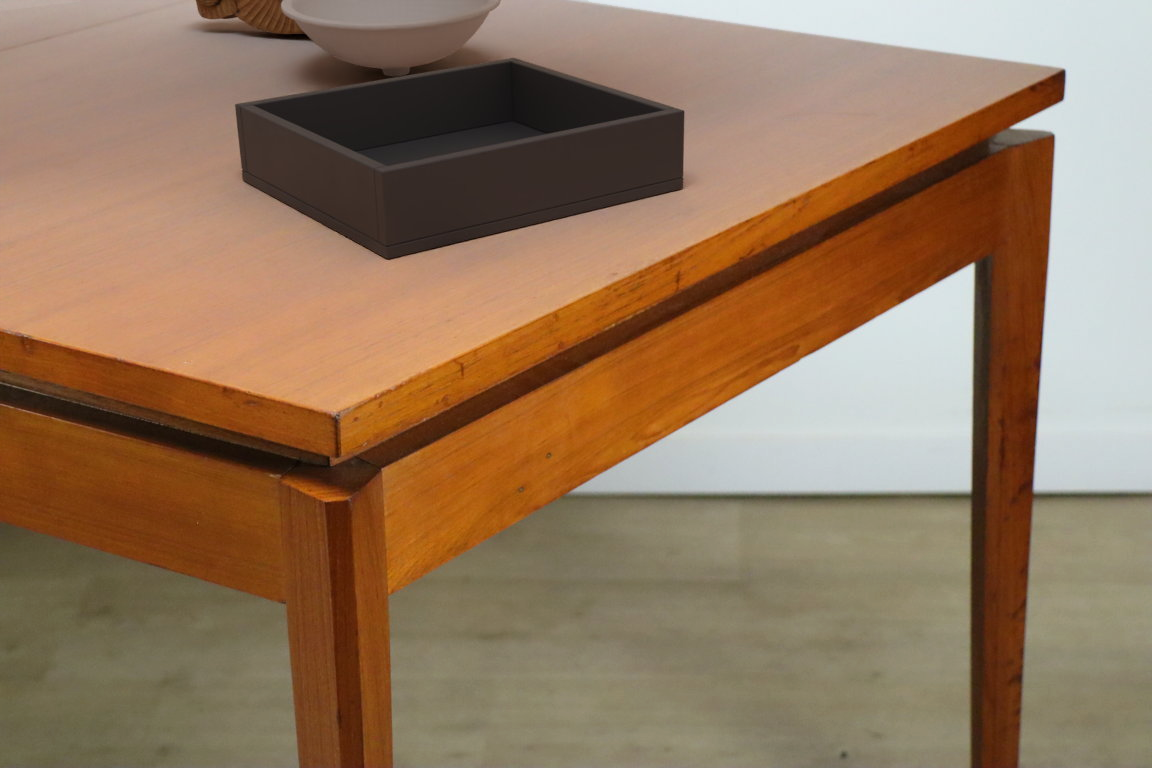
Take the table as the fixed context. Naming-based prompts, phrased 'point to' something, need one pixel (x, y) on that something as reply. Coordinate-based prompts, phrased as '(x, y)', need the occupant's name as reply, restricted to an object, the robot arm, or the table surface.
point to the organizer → (458, 152)
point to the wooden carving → (251, 14)
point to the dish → (389, 29)
